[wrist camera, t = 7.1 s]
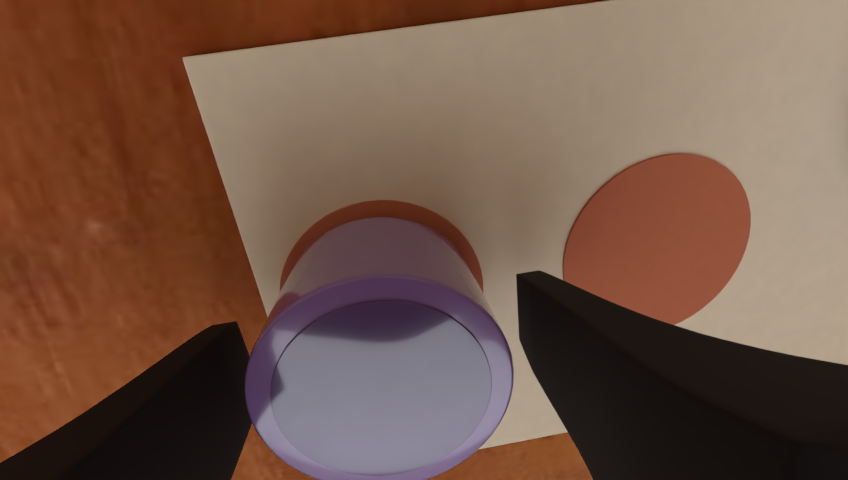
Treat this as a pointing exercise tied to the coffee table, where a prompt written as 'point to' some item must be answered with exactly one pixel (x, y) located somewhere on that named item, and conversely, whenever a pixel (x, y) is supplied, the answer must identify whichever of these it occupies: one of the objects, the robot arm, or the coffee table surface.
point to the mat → (566, 160)
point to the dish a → (379, 357)
